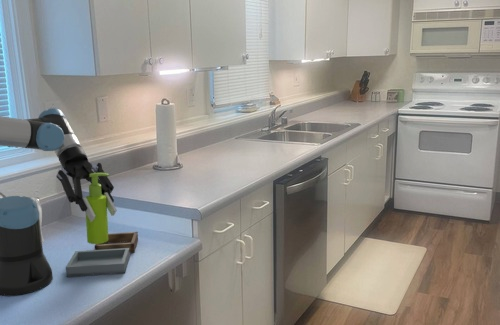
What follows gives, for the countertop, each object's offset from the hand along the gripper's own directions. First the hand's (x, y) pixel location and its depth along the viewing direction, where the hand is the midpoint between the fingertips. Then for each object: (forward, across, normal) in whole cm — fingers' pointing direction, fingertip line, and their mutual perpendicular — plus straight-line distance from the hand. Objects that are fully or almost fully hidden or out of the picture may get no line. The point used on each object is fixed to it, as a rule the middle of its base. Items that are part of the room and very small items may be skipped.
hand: (103, 215), depth 139 cm
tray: (+9, +1, -14) cm, 17 cm away
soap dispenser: (+3, 0, -8) cm, 9 cm away
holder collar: (+2, -11, -21) cm, 24 cm away
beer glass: (-16, +5, -40) cm, 43 cm away
